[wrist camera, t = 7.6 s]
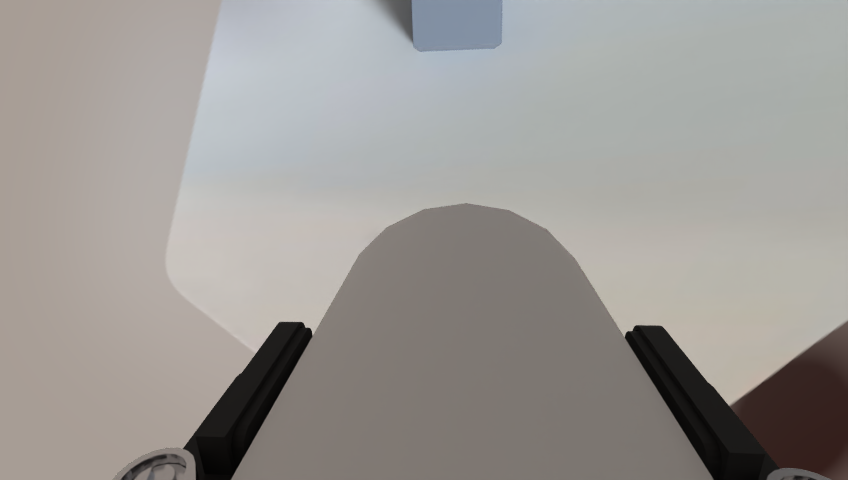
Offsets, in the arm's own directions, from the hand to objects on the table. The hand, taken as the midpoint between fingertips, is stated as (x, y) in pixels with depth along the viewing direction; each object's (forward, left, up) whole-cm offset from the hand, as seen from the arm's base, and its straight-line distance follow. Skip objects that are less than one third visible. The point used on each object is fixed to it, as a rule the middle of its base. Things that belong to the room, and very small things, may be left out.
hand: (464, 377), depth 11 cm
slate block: (-8, -8, -24) cm, 26 cm away
